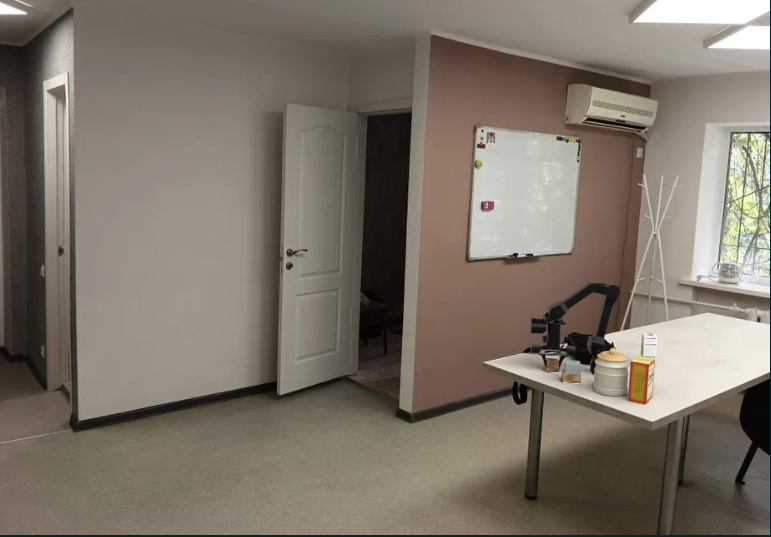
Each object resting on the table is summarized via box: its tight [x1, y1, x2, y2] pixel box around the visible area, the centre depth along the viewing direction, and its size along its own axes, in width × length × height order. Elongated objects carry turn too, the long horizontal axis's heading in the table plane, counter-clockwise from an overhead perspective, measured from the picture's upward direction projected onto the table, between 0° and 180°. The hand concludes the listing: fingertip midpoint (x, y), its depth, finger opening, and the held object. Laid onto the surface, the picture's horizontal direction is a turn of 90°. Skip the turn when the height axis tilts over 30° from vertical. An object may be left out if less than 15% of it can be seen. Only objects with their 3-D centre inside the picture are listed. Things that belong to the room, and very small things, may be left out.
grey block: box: [563, 359, 582, 376], centre depth 264 cm, size 6×6×4 cm
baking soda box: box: [627, 355, 656, 405], centre depth 243 cm, size 10×6×16 cm
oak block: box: [561, 368, 582, 384], centre depth 264 cm, size 7×7×4 cm
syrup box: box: [640, 332, 658, 368], centre depth 285 cm, size 6×6×14 cm
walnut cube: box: [545, 357, 560, 373], centre depth 277 cm, size 5×5×5 cm
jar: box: [592, 347, 630, 397], centre depth 251 cm, size 13×13×18 cm
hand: (552, 368), depth 277 cm, fingers closed on walnut cube, 5 cm apart
